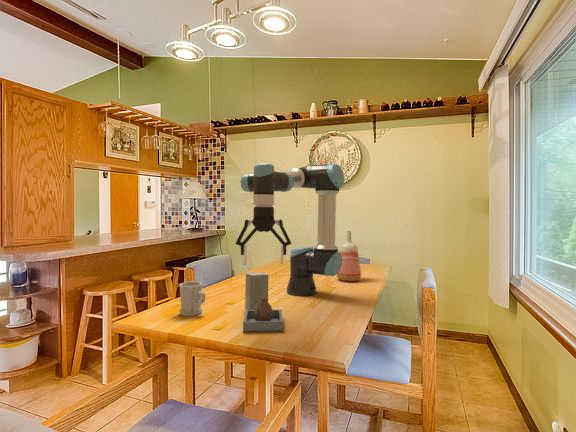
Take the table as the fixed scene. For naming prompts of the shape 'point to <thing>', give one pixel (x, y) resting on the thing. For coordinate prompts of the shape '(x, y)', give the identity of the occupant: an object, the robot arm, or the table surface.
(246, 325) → the bin
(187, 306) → the cup
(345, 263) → the pink tapered bottle
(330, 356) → the table surface
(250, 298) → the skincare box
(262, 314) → the vase
